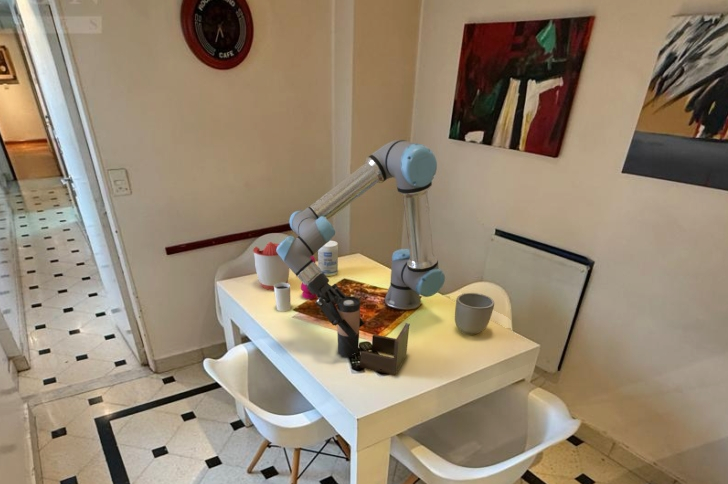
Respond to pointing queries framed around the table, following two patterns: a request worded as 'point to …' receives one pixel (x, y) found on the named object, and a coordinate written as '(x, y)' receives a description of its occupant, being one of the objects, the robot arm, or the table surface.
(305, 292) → the pepper mill
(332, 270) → the supplement tub
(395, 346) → the shelf rack
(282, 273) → the citrus juicer
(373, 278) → the table surface
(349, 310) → the travel mug
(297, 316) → the table surface
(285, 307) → the white cup
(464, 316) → the planter
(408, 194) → the robot arm
